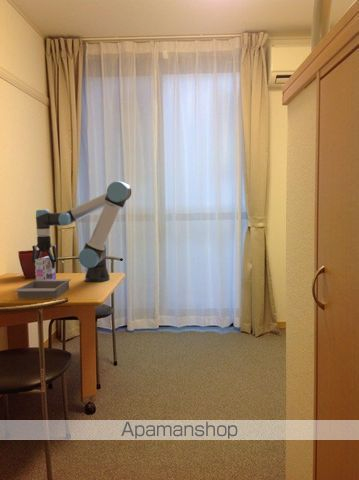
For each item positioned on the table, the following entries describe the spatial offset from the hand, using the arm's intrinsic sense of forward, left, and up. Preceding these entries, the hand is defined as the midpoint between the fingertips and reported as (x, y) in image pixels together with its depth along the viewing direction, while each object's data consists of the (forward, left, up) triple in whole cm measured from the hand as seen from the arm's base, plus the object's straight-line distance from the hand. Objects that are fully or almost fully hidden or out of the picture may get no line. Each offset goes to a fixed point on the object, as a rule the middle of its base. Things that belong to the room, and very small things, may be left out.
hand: (45, 273), depth 224 cm
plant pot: (+17, -25, -7) cm, 31 cm away
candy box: (0, 0, -7) cm, 7 cm away
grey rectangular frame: (-8, +23, -7) cm, 25 cm away
